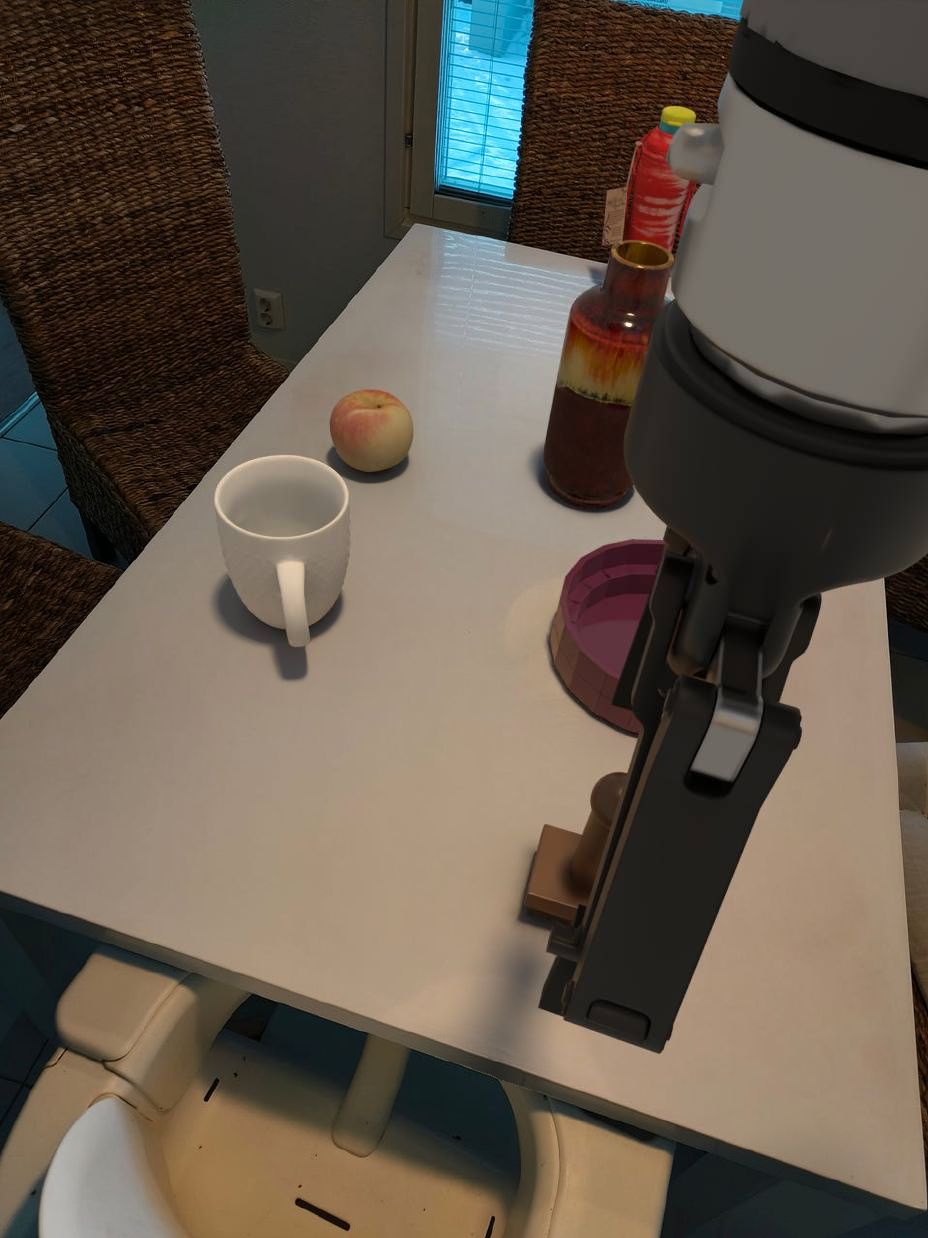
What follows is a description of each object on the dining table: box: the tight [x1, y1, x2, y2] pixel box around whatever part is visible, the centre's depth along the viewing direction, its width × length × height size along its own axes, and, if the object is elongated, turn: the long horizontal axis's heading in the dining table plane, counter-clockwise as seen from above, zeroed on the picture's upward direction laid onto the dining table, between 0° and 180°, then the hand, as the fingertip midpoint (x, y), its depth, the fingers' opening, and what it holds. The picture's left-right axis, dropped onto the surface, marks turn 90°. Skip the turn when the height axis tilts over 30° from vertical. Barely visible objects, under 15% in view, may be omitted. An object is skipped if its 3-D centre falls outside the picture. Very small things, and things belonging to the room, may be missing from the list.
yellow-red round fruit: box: [329, 389, 414, 473], centre depth 92 cm, size 9×9×8 cm
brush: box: [523, 771, 627, 925], centre depth 56 cm, size 8×6×15 cm
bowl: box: [549, 538, 666, 734], centre depth 76 cm, size 19×19×6 cm
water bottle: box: [601, 105, 697, 254], centre depth 120 cm, size 12×8×25 cm, turn 74°
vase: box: [542, 240, 675, 509], centre depth 86 cm, size 11×11×26 cm
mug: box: [213, 454, 351, 648], centre depth 73 cm, size 15×11×13 cm
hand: (614, 838), depth 33 cm, fingers open, 13 cm apart
